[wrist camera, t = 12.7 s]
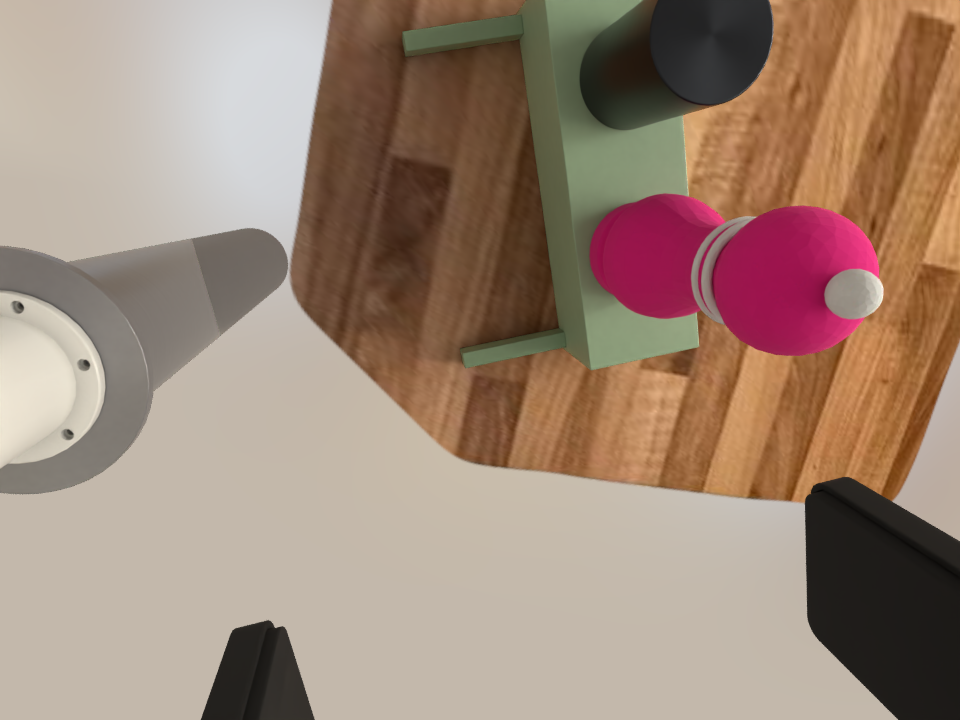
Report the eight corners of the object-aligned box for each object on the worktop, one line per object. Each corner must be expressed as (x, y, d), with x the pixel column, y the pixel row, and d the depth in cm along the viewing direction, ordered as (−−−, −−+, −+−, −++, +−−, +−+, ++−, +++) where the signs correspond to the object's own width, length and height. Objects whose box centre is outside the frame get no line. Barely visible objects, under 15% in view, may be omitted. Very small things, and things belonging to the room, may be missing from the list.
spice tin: (585, 137, 37) (656, 115, 27) (573, 31, 35) (644, -33, 26) (676, 121, 38) (776, 94, 28) (668, 16, 36) (772, -51, 26)
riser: (463, 367, 47) (477, 395, 40) (400, 31, 40) (404, -3, 34) (655, 327, 49) (699, 347, 42) (625, -3, 42) (672, -41, 35)
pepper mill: (565, 287, 39) (741, 369, 20) (604, 178, 38) (831, 155, 19) (661, 318, 41) (908, 420, 22) (701, 214, 39) (1002, 227, 20)
